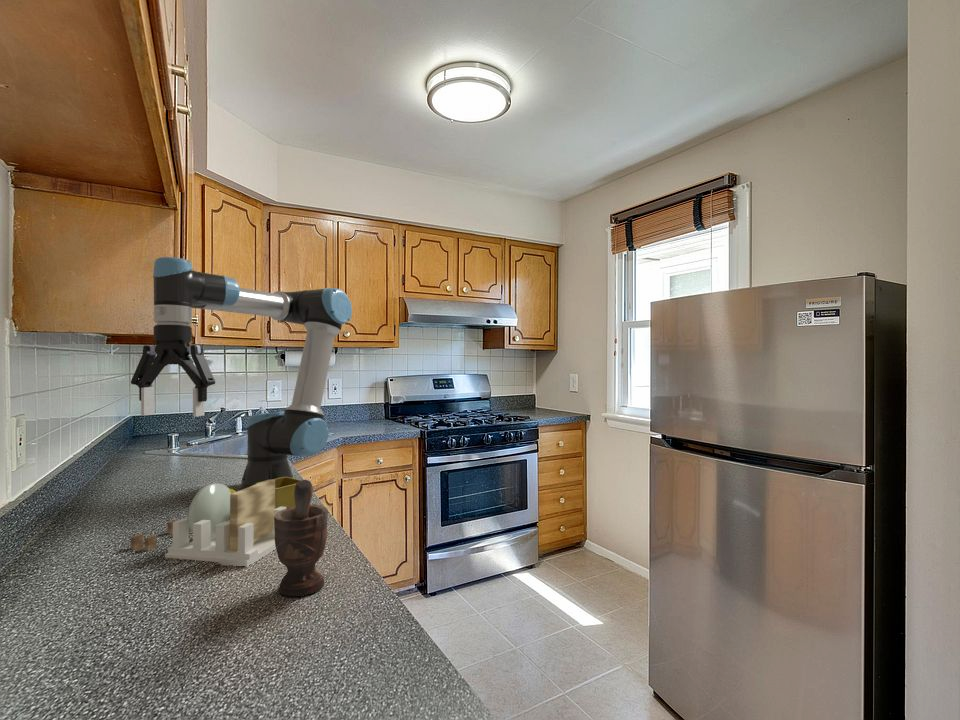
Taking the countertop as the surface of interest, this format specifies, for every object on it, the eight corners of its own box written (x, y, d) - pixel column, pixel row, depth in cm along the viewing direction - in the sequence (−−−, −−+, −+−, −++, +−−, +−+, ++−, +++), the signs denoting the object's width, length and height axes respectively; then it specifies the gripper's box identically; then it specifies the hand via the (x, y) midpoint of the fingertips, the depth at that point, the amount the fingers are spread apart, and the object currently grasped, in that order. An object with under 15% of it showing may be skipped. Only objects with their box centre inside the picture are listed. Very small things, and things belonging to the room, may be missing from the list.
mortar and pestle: (344, 595, 79) (345, 475, 79) (293, 613, 73) (293, 484, 73) (314, 572, 87) (315, 464, 87) (266, 588, 81) (266, 471, 82)
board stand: (174, 533, 107) (174, 519, 107) (190, 534, 107) (190, 521, 107) (130, 552, 97) (130, 537, 97) (148, 553, 96) (148, 538, 96)
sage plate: (226, 527, 105) (227, 477, 105) (232, 527, 105) (232, 478, 105) (187, 546, 94) (188, 491, 94) (193, 546, 94) (194, 491, 94)
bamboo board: (268, 529, 104) (268, 479, 104) (274, 530, 103) (275, 479, 103) (229, 550, 92) (230, 494, 92) (237, 551, 92) (237, 494, 92)
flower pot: (306, 516, 120) (306, 480, 120) (275, 526, 113) (275, 488, 113) (285, 510, 125) (285, 476, 125) (254, 519, 117) (254, 483, 117)
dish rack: (220, 533, 108) (220, 501, 108) (292, 538, 104) (292, 506, 104) (165, 560, 93) (165, 523, 93) (246, 567, 90) (247, 529, 90)
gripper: (112, 324, 109) (112, 416, 109) (208, 322, 105) (208, 418, 105) (140, 326, 116) (140, 412, 116) (231, 325, 112) (231, 414, 112)
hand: (172, 415), depth 111 cm, fingers open, 13 cm apart
